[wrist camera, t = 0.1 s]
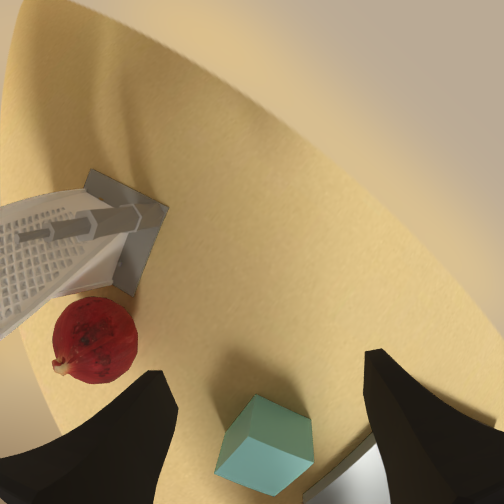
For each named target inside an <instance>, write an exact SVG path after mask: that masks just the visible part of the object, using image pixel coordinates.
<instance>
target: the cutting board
mask: <svg viewBox="0 0 504 504" xmlns="http://www.w3.org/2000/svg"><path fill="white" fill-rule="evenodd" d="M478 422H479V421H478ZM480 423H481V422H480ZM482 424H483V423H482ZM484 425H486V424H484ZM487 426H488V425H487ZM489 427H490V426H489ZM492 428H493V427H492ZM303 504H391V502H390V495H389V489H388V483H387V477H386V473H385V469H384V465H383V462H382V459H381V456H380V453H379V450H378V447H377V443H376V440H375V437H374V434H373V432H372V433H371V434H370V435H369V436H368V437H367V438H366V439H365V440H364V441H363V442H362V443H361V444H360V445H359V446H358V447H357V448H356V449H355V450H354V451H353V452H352V453H350V454H349V455H348V456H347V457H346V458H345V459H344V460H343V461H342V462H341V463H340V464H338V465H337V466H336V467H335V468H334V469H333V470H332V471H331V472H329V473H328V474H327V475H326V476H325V477H324V478H322V479H321V480H320V481H319V482H317V483H316V484H315V485H314V486H313V487H311V488H310V489H309V490H308V491H306V492H305V493H304V494H303Z"/></svg>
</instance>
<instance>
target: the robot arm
mask: <svg viewBox="0 0 504 504" xmlns="http://www.w3.org/2000/svg"><path fill="white" fill-rule="evenodd" d="M363 396H364V401H365V406H366V411H367V415H368V419H369V422H370V425H371V428H372V431H373V434H374V437H375V440H376V443H377V447H378V450H379V453H380V456H381V459H382V462H383V465H384V469H385V473H386V477H387V483H388V489H389V495H390V502H391V504H504V432H503V431H500V430H497V429H494V428H492V427H489V426H487V425H484V424H482V423H480V422H478V421H476V420H474V419H472V418H470V417H468V416H466V415H464V414H462V413H460V412H459V411H457V410H456V409H454V408H452V407H451V406H449V405H447V404H446V403H444V402H443V401H442V400H440V399H439V398H437V397H436V396H435V395H433V394H432V393H431V392H430V391H428V390H427V389H426V388H425V387H423V386H422V385H421V384H420V383H419V382H417V381H416V380H415V379H414V378H413V377H412V376H411V375H409V374H408V373H407V372H406V371H405V370H404V369H403V368H402V367H401V366H400V365H399V364H398V363H397V362H396V361H395V360H394V359H393V358H392V357H391V356H390V355H389V354H388V353H386V352H385V351H384V350H383V349H382V348H381V349H376V350H371V351H365V363H364V386H363ZM178 409H179V408H178V406H177V404H176V402H175V400H174V397H173V395H172V393H171V390H170V388H169V386H168V383H167V381H166V378H165V376H164V374H163V371H162V370H148V371H147V372H145V373H144V374H143V375H142V376H140V377H139V378H138V379H137V380H136V381H135V382H133V383H132V384H131V385H130V386H129V387H128V388H127V389H126V390H124V391H123V392H122V393H121V394H120V395H119V396H117V397H116V398H115V399H114V400H113V401H112V402H111V403H109V404H108V405H107V406H106V407H104V408H103V409H102V410H100V411H99V412H98V413H97V414H95V415H94V416H93V417H92V418H90V419H89V420H87V421H86V422H85V423H83V424H82V425H80V426H78V427H77V428H75V429H74V430H72V431H70V432H69V433H67V434H65V435H63V436H61V437H59V438H57V439H55V440H53V441H51V442H50V443H47V444H45V445H43V446H40V447H38V448H35V449H32V450H30V451H27V452H24V453H21V454H17V455H13V456H9V457H5V458H0V498H1V499H2V500H3V501H4V502H6V503H7V504H153V501H154V495H155V490H156V485H157V482H158V478H159V475H160V472H161V469H162V466H163V463H164V461H165V458H166V455H167V452H168V449H169V446H170V443H171V440H172V437H173V434H174V431H175V426H176V421H177V415H178Z"/></svg>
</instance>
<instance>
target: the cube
mask: <svg viewBox="0 0 504 504" xmlns="http://www.w3.org/2000/svg"><path fill="white" fill-rule="evenodd" d="M313 463H314V452H313V438H312V425H311V419H309V418H306V417H304V416H302V415H299V414H297V413H295V412H293V411H291V410H288V409H286V408H284V407H282V406H280V405H278V404H276V403H273V402H271V401H269V400H267V399H265V398H263V397H261V396H259V395H257V394H255V396H254V397H253V398H252V399H251V401H250V402H249V403H248V405H247V406H246V407H245V408H244V410H243V411H242V412H241V414H240V415H239V416H238V417H237V419H236V420H235V421H234V422H233V424H232V425H231V426H230V427H229V429H228V430H227V431H226V432H225V436H224V439H223V443H222V446H221V450H220V454H219V457H218V461H217V464H216V468H215V471H214V474H216V475H218V476H221V477H223V478H225V479H228V480H230V481H233V482H235V483H238V484H240V485H243V486H245V487H248V488H251V489H253V490H256V491H259V492H262V493H265V494H268V495H270V496H273V497H274V496H276V495H277V494H278V493H279V492H281V491H282V490H283V489H284V488H286V487H287V486H288V485H289V484H290V483H292V482H293V481H294V480H295V479H296V478H298V477H299V476H300V475H301V474H302V473H303V472H304V471H306V470H307V469H308V468H309V467H310V466H311V465H312V464H313Z"/></svg>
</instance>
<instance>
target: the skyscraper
mask: <svg viewBox="0 0 504 504" xmlns="http://www.w3.org/2000/svg"><path fill="white" fill-rule="evenodd" d="M168 209H169V207H167V206H165V205H163V204H161V203H159V202H157V201H155V200H153V199H151V198H149V197H147V196H145V195H143V194H141V193H139V192H137V191H135V190H133V189H131V188H129V187H127V186H125V185H123V184H121V183H119V182H117V181H116V180H114V179H112V178H110V177H108V176H106V175H104V174H102V173H100V172H98V171H96V170H94V169H90V172H89V175H88V177H87V180H86V183H85V185H84V188H83V189H73V190H66V191H59V192H53V193H48V194H43V195H39V196H35V197H31V198H27V199H23V200H20V201H17V202H14V203H11V204H7V205H5V206H2V207H0V341H1V340H2V339H3V338H5V336H7V335H8V334H10V333H11V332H12V331H13V330H15V329H16V328H17V327H18V326H19V325H21V324H22V323H23V322H24V321H25V320H27V319H28V318H29V317H30V316H32V315H33V314H34V313H35V312H36V311H38V310H39V309H40V308H41V307H42V306H43V305H44V304H46V303H47V302H48V301H49V300H50V299H52V298H56V297H61V296H66V295H70V294H75V293H79V292H83V291H88V290H92V289H96V288H101V287H105V286H110V285H114V286H115V287H117V288H119V289H120V290H122V291H124V292H125V293H127V294H129V295H130V296H132V297H134V294H135V292H136V289H137V286H138V283H139V281H140V278H141V275H142V273H143V270H144V268H145V265H146V262H147V260H148V257H149V255H150V252H151V250H152V247H153V245H154V242H155V240H156V237H157V235H158V233H159V230H160V228H161V225H162V223H163V221H164V218H165V216H166V214H167V211H168Z"/></svg>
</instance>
